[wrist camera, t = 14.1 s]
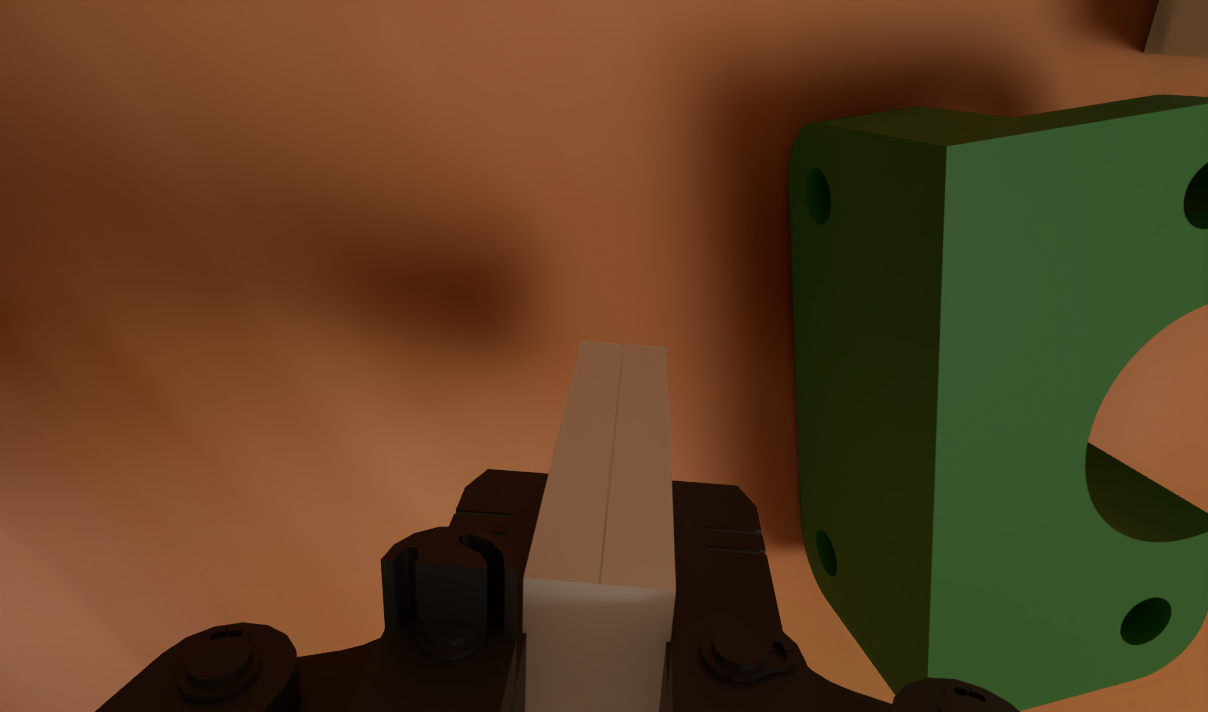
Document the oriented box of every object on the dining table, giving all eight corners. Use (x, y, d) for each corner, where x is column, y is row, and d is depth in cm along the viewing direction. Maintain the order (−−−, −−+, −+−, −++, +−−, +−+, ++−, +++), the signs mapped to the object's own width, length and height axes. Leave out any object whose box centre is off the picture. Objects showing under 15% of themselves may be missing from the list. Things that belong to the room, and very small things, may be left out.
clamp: (940, 398, 24) (1158, 698, 17) (749, 438, 23) (904, 768, 17) (1104, -23, 15) (1639, 262, 9) (810, 17, 15) (1174, 361, 8)
